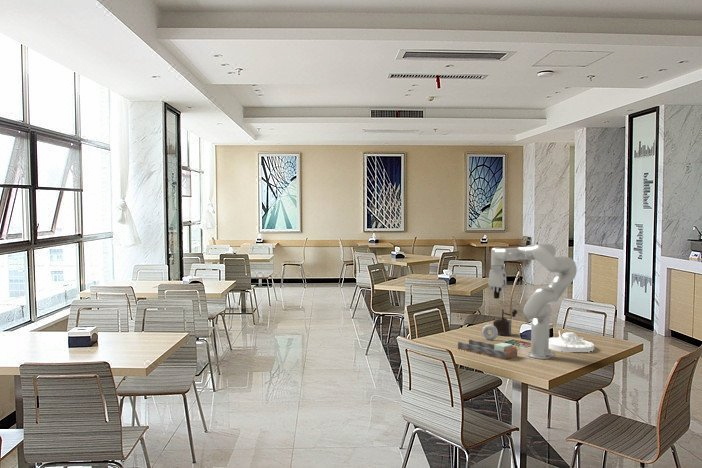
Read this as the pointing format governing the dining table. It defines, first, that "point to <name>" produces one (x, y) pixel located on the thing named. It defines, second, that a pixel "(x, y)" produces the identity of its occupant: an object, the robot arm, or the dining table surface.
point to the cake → (570, 343)
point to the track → (488, 349)
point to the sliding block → (502, 346)
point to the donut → (488, 336)
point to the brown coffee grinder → (504, 324)
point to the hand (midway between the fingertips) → (496, 298)
